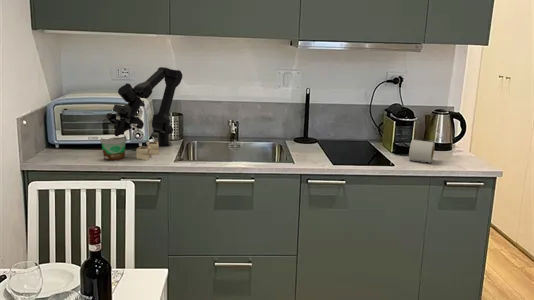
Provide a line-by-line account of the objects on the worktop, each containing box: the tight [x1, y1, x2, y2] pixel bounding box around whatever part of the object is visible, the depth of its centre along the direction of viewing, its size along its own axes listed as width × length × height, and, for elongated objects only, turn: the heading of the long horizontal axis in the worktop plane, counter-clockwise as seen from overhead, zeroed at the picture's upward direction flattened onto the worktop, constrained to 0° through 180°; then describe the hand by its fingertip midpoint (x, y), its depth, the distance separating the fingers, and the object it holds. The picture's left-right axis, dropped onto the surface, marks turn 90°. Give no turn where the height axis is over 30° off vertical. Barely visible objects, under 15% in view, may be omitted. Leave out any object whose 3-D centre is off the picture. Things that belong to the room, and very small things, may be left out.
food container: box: [99, 134, 128, 162], centre depth 236 cm, size 12×6×10 cm, turn 129°
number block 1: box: [136, 145, 152, 161], centre depth 240 cm, size 5×5×5 cm
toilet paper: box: [408, 139, 435, 164], centre depth 249 cm, size 10×10×10 cm
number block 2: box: [146, 141, 160, 156], centre depth 249 cm, size 5×5×5 cm
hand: (115, 135), depth 235 cm, fingers closed
